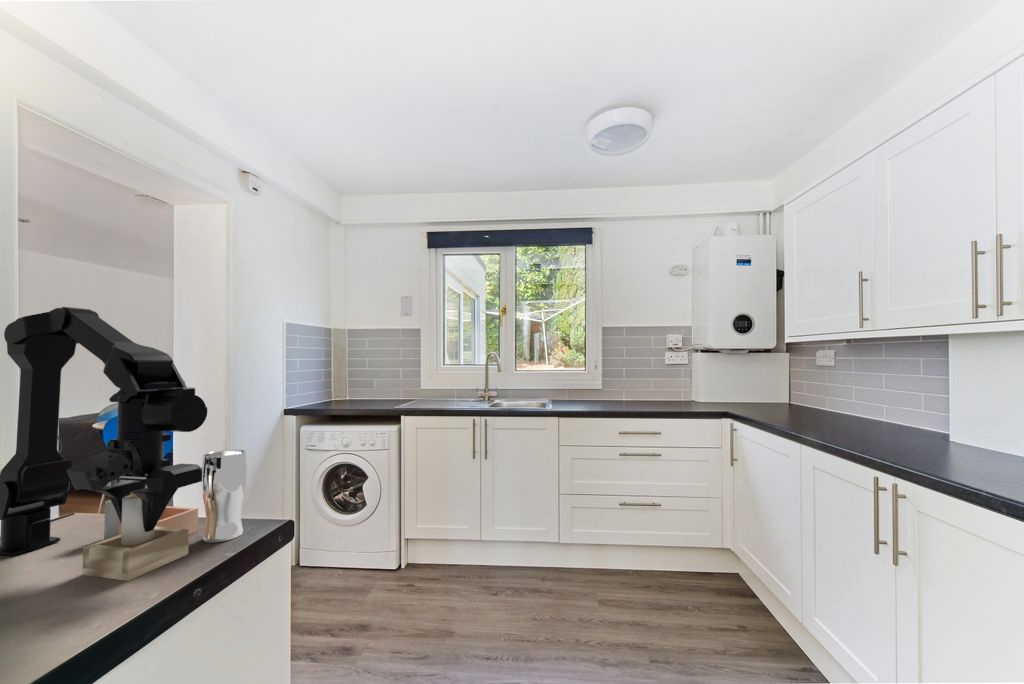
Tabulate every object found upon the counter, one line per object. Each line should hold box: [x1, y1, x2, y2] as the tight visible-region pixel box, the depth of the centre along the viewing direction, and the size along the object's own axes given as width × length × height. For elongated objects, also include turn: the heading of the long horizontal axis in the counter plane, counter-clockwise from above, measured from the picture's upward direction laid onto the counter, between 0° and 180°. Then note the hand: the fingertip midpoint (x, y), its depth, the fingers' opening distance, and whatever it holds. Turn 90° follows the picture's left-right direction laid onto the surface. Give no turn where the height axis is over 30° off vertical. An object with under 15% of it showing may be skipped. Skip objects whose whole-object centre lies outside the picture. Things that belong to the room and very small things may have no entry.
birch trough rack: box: [82, 526, 190, 582], centre depth 68 cm, size 9×9×4 cm
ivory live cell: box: [121, 492, 155, 545], centre depth 68 cm, size 4×4×8 cm
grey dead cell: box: [103, 499, 119, 541], centre depth 79 cm, size 4×4×8 cm
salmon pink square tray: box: [118, 505, 199, 535], centre depth 79 cm, size 8×8×4 cm
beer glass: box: [200, 449, 247, 544], centre depth 79 cm, size 7×7×15 cm
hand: (138, 530), depth 68 cm, fingers closed on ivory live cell, 4 cm apart
